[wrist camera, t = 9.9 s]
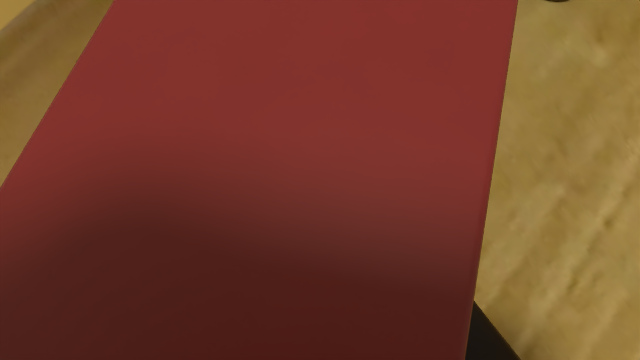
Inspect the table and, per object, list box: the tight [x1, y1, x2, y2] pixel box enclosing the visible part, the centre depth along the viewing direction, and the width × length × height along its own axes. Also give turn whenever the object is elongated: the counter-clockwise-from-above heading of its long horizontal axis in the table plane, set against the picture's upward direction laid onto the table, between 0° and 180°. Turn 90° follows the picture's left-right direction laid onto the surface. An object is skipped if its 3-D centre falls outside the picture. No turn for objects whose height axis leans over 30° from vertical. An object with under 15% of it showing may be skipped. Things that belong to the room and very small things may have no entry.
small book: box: [0, 0, 518, 360], centre depth 9 cm, size 8×4×13 cm, turn 164°
